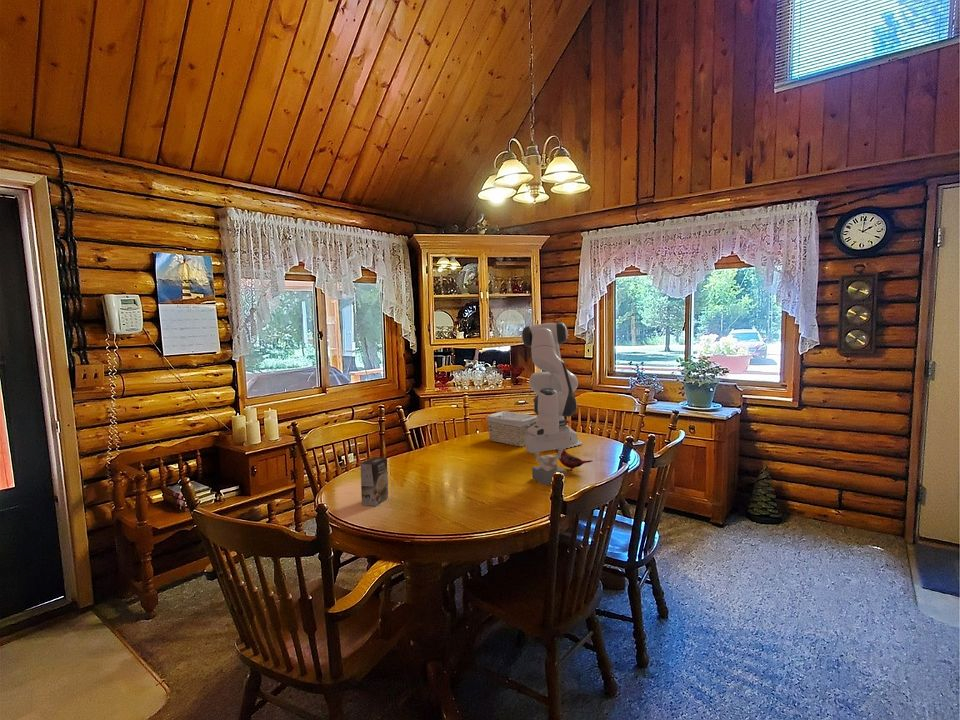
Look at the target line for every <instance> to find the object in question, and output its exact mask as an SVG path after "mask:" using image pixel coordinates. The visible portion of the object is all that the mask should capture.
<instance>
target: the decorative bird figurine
mask: <svg viewBox="0 0 960 720" xmlns="http://www.w3.org/2000/svg"><path fill="white" fill-rule="evenodd" d="M554 453H555V454H557V453H558V449H556V450H555V451H554ZM558 460H559V462H560V463H561V464H562V466H564V467H566V468H567V469H565V468H563V469H564V470H565V471H567V470H570V471H569V472H575V468H578V467H579V468H580V467H581V466H582V465H583V464H587V463H591V462H593V460H582V459H581V458H579V457H576V456H575V455H572V454H570V453H568V452H567V451H566V449H563V451H562V453H561V458H560V459H558ZM568 468H569V469H568Z"/></svg>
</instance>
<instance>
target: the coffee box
mask: <svg viewBox="0 0 960 720" xmlns="http://www.w3.org/2000/svg"><path fill="white" fill-rule="evenodd" d="M359 464H360V486H361V487H360V488H361V491H360V492H361V493H360V494H361V495H360V496H361V505H362V504H363V505H364V506H369V505H370V506H371V507H376V506H379V505H380V504H382V503H383V502H385V501H386V500H388V499H389V481H388V480H389V479H388V478H389V477H388V457H377V456H376V457H375V456H373V457H370V458H369V459H366V460H363V461H362V462H360V463H359ZM387 498H388V499H387ZM384 500H385V501H384ZM381 502H382V503H381Z"/></svg>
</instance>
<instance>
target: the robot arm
mask: <svg viewBox="0 0 960 720" xmlns="http://www.w3.org/2000/svg"><path fill="white" fill-rule="evenodd" d="M568 337H569V331H568V327H567V325H566V324H565V323H564V322H560V321H559V322H558V321H557V322H544V323H540V324H534V325H528V326H525V327H524V328H523V329H522V332H521V341H522V343H523V345H524V346H525V347H526V348H531V350H530V351H531V359H532V363H533V365H534V366H535V367H536V368H538V369H539V370H541V371H537V372H533V373H532V374H531V375H530V377H529V380H528V384H529V387H530V390H532V391H533V392H534V393H535V394H536V395H535V396H534V398H533V412H534V413H535V414H536V416H537V415H538V416H537V419H538V421H537V423H536V424H534V425H533V426H531V427H529V428H527V432H528V433H529V434H528V435H527V437H526V445H525V450H526V452H528V453H529V454H534V456H535V458H536V459H535V460H536V463H540V462H541V461H542V458H541V457H540V453H541V452H547V451H552V450H557V449H558V453H555V456H554V457H557V460H559V459H560V458H561V453H562V451H563V449H564V450H567V449H566V448H568V449H570V447H572V448H575V447H574V446H576V447H579V446H578V445H580V446H583V442H582V441H581V440H579V438H578V433H577V432H576V431H575V430H574V429H572V428H571V427H570V426H568V424H569V425H570V424H571V422H572V421H571V420H570V419H566V418H565V417H567V418H568V417H569V418H570V417H572V416H574V414H575V413H576V412H577V408H578V403H577V399H576V397H575V394H574V392H575V391H576V390H577V388H578V387H579V381H578V377H577V376H576V374H574V373H572V372H571V371H570V370H568V369H567V366H566V363H565V362H564V360H563V359H562V356H561V355H562V354H561V349H560V345H561V344H564V343H566V342H567V341H568V340H567V339H568Z"/></svg>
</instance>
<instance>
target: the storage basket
mask: <svg viewBox="0 0 960 720" xmlns="http://www.w3.org/2000/svg"><path fill="white" fill-rule="evenodd" d="M486 421H487V426H488V435H489V436H488V437H489V440H490V441H491V442H496V443H500V444H505V445H508V444H509V445H510V446H515V447H521V446H523V447H525V446H526V437H527V435H528V434H529V433H528V432H527V428H529V427H531V426H533V425H534V424H536V423H538V416H537V415H534V414H533V415H532V414H528V413H521V412H520V413H519V412H515V411H506V410H503V411H498V412H494V413H491V414H488V415H487V417H486ZM509 445H508V446H509ZM524 445H525V446H524ZM521 448H522V447H521Z"/></svg>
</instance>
